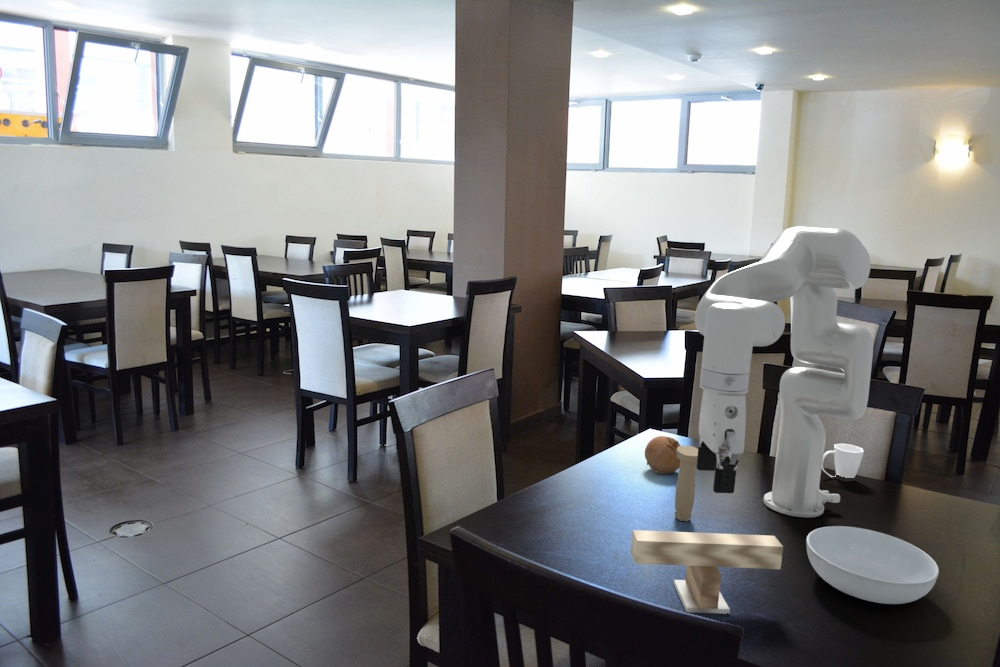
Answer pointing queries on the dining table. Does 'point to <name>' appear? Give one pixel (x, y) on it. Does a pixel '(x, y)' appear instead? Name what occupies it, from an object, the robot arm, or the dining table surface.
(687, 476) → the handle
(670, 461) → the onion
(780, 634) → the dining table surface
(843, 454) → the cup
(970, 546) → the dining table surface
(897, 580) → the serving bowl
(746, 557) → the beam
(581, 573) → the dining table surface
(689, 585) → the wooden block on base
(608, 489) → the dining table surface
